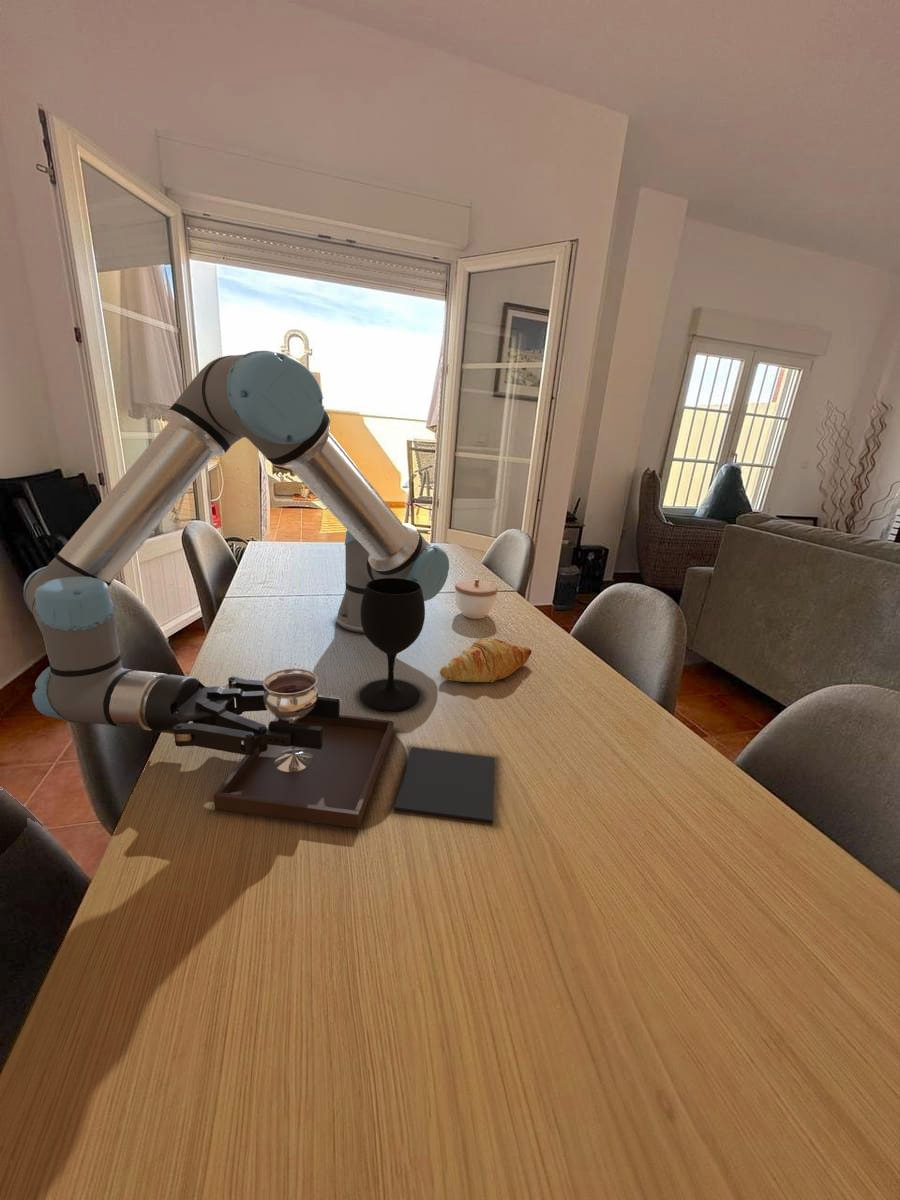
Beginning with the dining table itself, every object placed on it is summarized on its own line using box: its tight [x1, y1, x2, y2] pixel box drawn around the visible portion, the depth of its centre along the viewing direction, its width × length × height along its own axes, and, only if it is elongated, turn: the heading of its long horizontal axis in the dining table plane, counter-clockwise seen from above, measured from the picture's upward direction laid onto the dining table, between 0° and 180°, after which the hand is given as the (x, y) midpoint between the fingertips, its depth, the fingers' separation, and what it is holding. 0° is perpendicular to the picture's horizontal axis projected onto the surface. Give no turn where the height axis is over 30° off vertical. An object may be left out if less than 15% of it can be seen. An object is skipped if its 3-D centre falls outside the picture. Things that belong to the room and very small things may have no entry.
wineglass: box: [262, 668, 320, 772], centre depth 63 cm, size 7×7×12 cm
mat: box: [393, 746, 495, 824], centre depth 64 cm, size 12×12×1 cm
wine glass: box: [359, 578, 426, 713], centre depth 80 cm, size 10×10×20 cm
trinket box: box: [454, 578, 499, 619], centre depth 122 cm, size 11×11×9 cm
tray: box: [213, 714, 395, 829], centre depth 65 cm, size 19×17×2 cm
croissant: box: [439, 637, 532, 683], centre depth 93 cm, size 21×10×8 cm, turn 123°
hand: (330, 722), depth 62 cm, fingers open, 6 cm apart
